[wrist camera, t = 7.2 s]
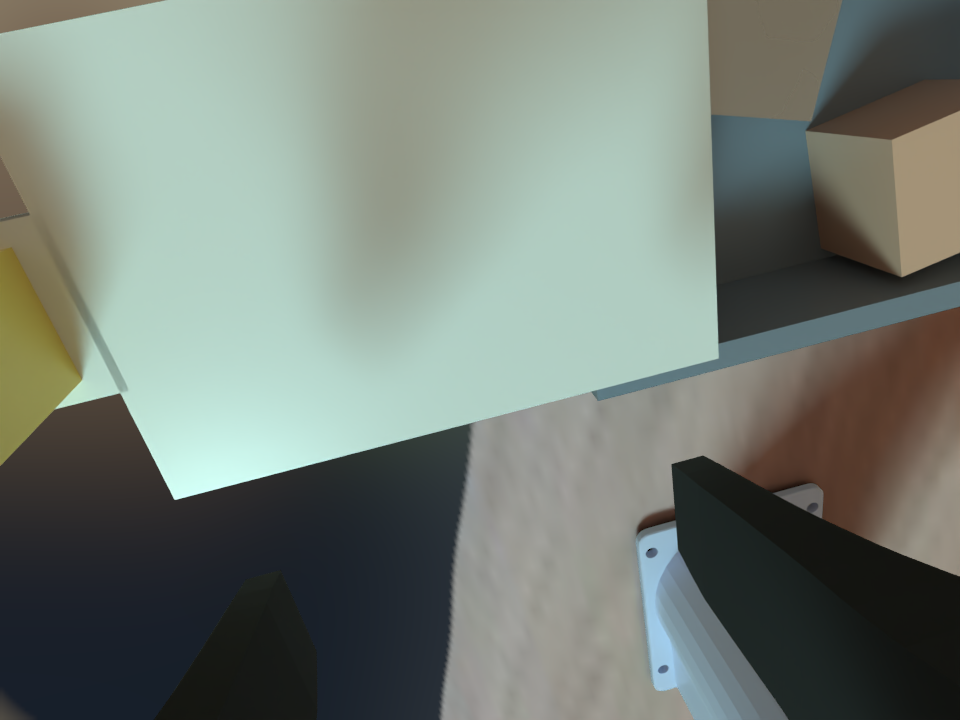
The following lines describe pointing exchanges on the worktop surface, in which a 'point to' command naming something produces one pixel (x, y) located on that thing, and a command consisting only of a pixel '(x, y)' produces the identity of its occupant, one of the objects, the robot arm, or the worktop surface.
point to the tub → (791, 206)
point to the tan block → (891, 179)
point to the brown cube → (768, 56)
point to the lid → (349, 218)
